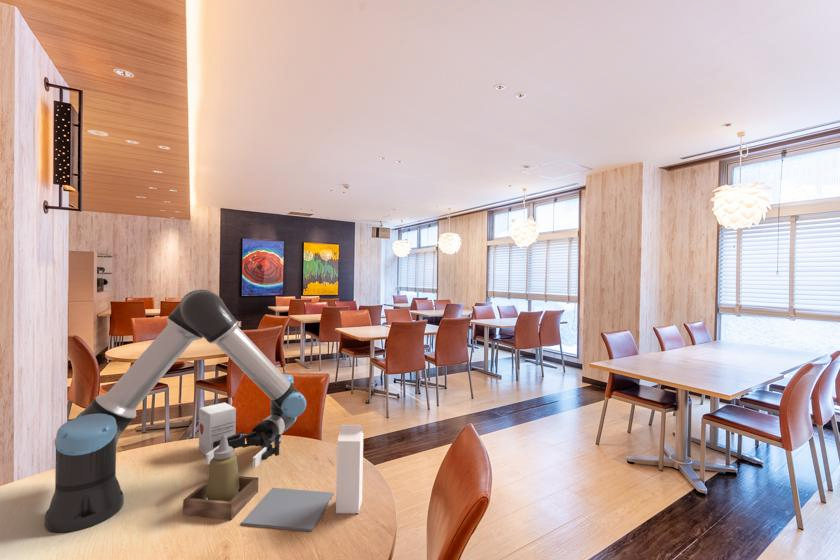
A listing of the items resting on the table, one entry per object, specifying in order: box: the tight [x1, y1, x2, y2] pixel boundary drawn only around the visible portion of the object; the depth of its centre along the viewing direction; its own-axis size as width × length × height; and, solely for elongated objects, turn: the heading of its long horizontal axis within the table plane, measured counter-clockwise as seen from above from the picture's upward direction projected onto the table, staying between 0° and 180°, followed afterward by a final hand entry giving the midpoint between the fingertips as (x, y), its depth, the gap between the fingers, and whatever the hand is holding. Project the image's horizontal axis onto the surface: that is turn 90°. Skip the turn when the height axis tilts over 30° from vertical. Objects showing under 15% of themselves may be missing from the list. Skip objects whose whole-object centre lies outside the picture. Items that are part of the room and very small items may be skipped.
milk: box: [335, 423, 364, 515], centre depth 103 cm, size 6×6×22 cm
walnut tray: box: [182, 475, 259, 521], centre depth 104 cm, size 13×13×4 cm
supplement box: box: [198, 401, 237, 456], centre depth 135 cm, size 9×9×15 cm
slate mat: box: [240, 487, 335, 532], centre depth 102 cm, size 18×16×1 cm
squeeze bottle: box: [206, 435, 240, 501], centre depth 104 cm, size 8×8×18 cm
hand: (230, 461), depth 106 cm, fingers open, 13 cm apart
